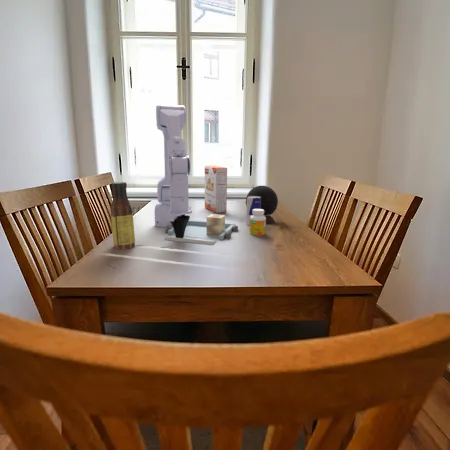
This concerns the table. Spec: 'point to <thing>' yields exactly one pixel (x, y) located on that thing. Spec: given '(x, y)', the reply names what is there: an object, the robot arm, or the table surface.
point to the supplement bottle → (257, 222)
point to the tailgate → (190, 240)
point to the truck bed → (204, 230)
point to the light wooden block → (215, 224)
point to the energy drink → (252, 206)
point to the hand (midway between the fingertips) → (179, 238)
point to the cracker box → (216, 188)
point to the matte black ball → (265, 201)
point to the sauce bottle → (122, 218)
